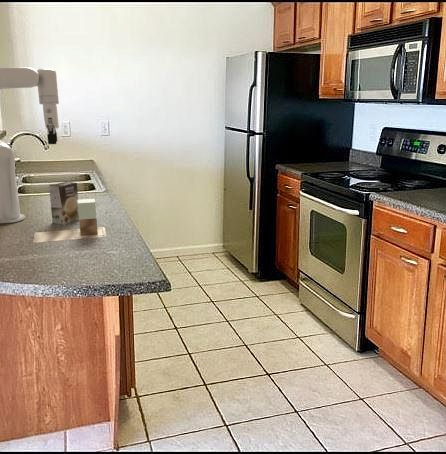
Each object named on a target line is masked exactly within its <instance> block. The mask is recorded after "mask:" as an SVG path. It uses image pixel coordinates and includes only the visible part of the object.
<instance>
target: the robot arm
mask: <svg viewBox="0 0 446 454" xmlns="http://www.w3.org/2000/svg"><path fill="white" fill-rule="evenodd" d="M57 78H58V77H57V71H56V70H55V69H53V68H38V69H35V68H32V67H29V66H28V67H27V66H25V67H24V66H23V67H22V66H21V67H0V90H7V89H8V90H9V89H26V88H27V89H29V88H34V87H37V93H38V102H39V105H42V111H43V120H44V126H45V130H47V131H46V132H47V134H46V135H47V136H46V137H47V143H48V145H57V143H58V134H57V130H58V129H59V127H60V125H59V114H58V106H57V105H59V104H60V102H59V101H60V100H59V90H58V80H57ZM15 160H16V158H15V153H14V151H13V149H12V147H11V146H10V145H9V144H7V143H6V142H4V141H2V140H0V224H10V223H11V224H12V223H16V222H17V223H18V222H20V221H21V222H22V221H23V220H25V218H26V216H25V214H23V213H21V209H20V201H19V192H18V191H19V190H18V183H17V176H16V163H15V162H16V161H15Z"/></svg>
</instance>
